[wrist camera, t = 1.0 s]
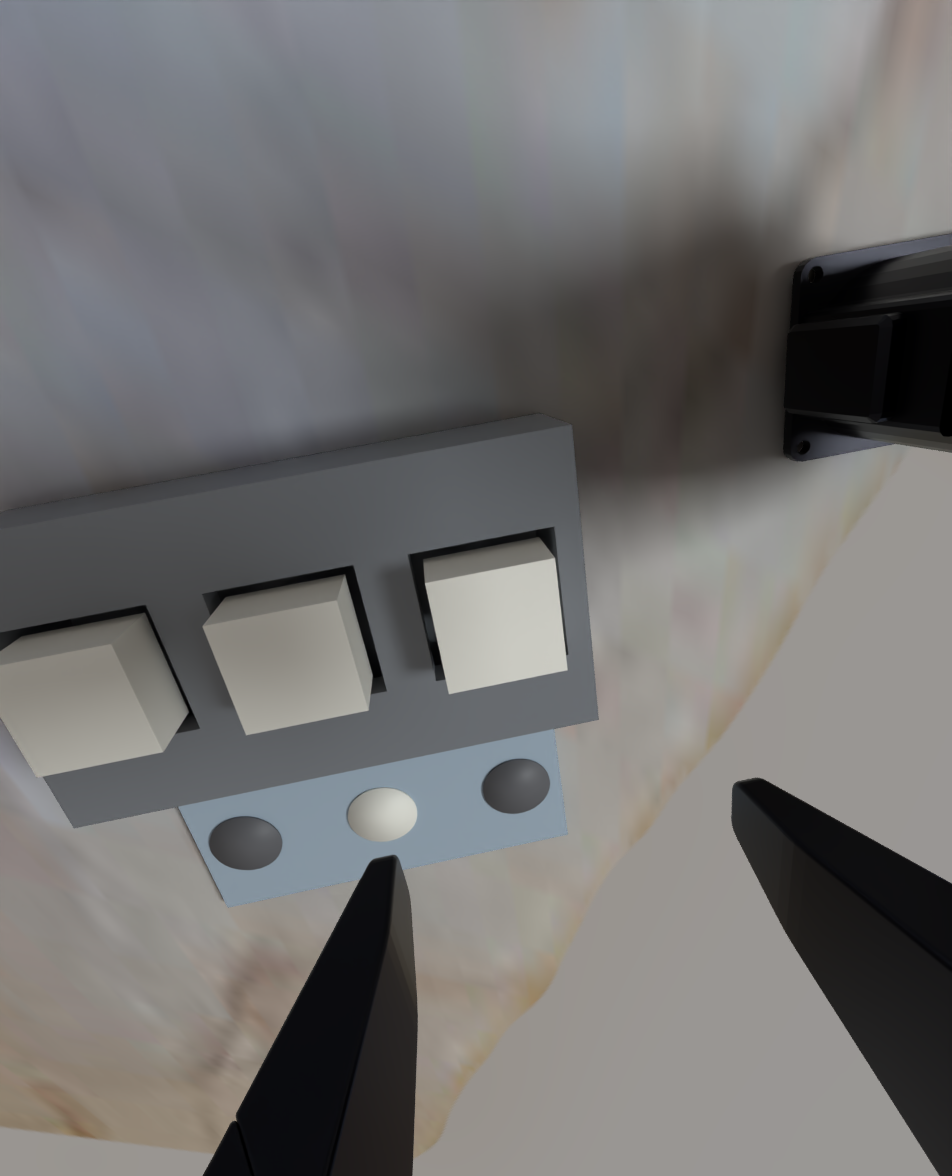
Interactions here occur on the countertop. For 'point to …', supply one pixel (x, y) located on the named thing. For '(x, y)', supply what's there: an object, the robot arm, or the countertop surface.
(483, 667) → the button
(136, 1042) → the countertop surface
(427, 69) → the countertop surface
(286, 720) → the button middle
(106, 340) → the countertop surface
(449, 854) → the pattern card
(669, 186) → the countertop surface
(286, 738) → the button board
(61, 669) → the button
